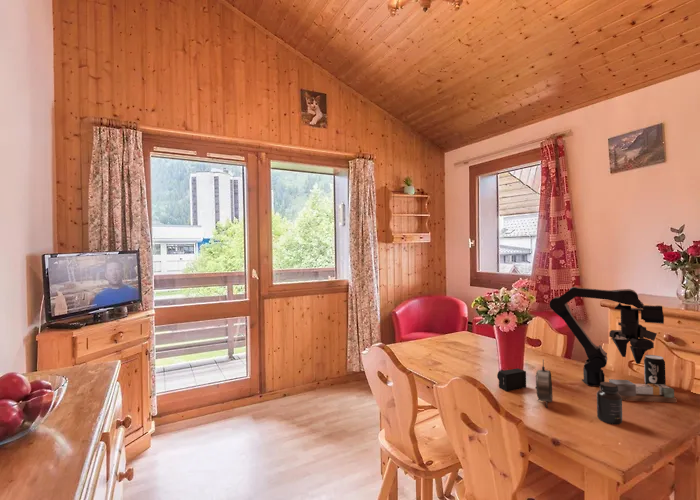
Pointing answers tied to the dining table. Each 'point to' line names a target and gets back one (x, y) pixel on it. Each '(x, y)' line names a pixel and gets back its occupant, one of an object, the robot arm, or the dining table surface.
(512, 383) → the digital camera
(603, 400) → the supplement bottle
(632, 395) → the tube stand
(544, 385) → the alarm clock
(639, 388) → the grey rectangular bar
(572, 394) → the dining table surface
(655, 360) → the beverage can
